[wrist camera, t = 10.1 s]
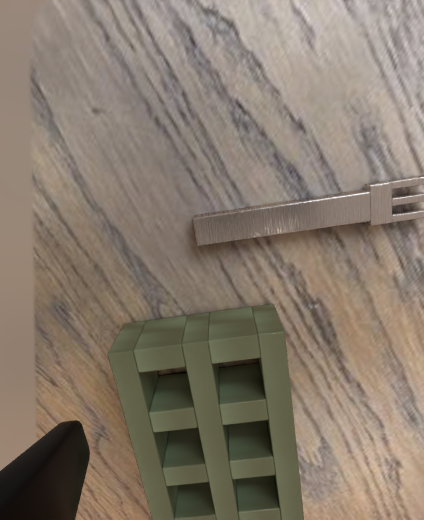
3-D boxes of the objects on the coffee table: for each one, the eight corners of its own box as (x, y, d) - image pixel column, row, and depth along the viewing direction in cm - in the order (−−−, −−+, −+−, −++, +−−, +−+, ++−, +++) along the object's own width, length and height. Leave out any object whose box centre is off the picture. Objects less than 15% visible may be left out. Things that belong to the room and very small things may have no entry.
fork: (197, 251, 19) (432, 217, 18) (191, 212, 19) (433, 176, 18) (198, 247, 20) (421, 214, 19) (192, 210, 20) (422, 175, 19)
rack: (164, 487, 25) (156, 537, 22) (124, 323, 22) (106, 354, 18) (292, 473, 25) (304, 523, 22) (274, 303, 21) (284, 330, 18)
